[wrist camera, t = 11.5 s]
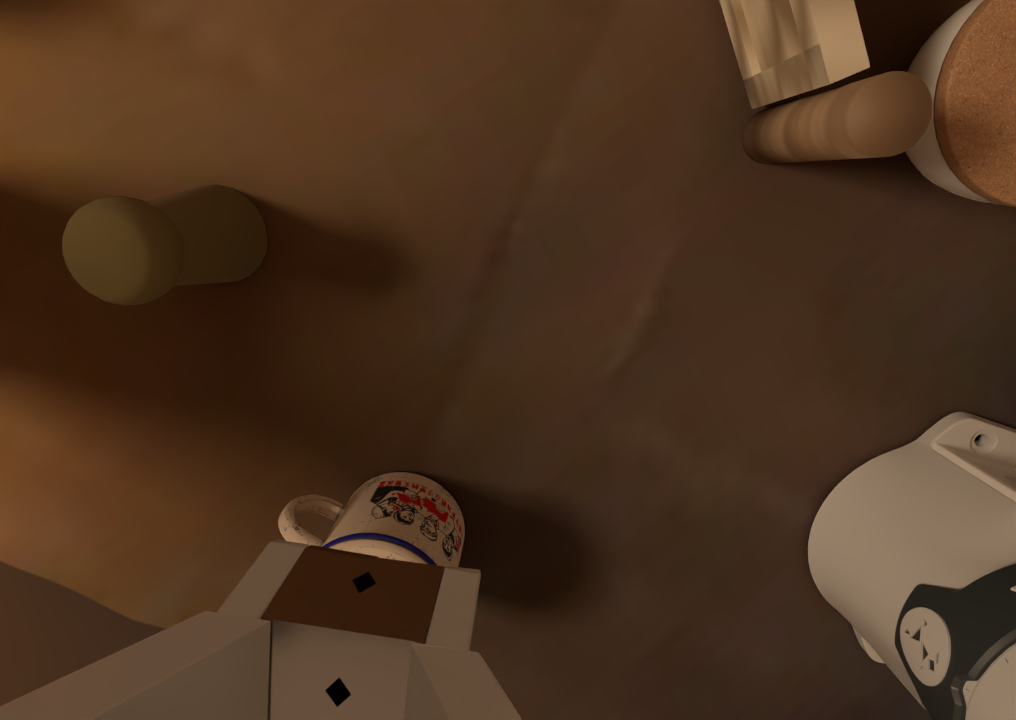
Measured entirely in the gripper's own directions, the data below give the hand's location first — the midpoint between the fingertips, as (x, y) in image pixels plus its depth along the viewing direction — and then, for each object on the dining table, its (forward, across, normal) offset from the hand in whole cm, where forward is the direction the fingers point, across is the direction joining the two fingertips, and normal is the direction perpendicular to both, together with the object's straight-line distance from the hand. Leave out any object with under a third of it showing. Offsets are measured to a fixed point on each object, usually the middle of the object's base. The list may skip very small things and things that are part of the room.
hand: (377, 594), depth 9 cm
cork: (+31, -18, 0) cm, 36 cm away
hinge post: (+31, +14, +10) cm, 35 cm away
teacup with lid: (+31, -6, -18) cm, 37 cm away
